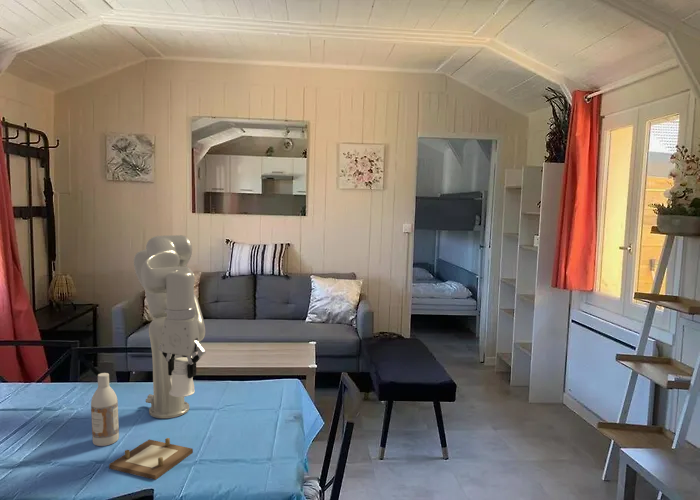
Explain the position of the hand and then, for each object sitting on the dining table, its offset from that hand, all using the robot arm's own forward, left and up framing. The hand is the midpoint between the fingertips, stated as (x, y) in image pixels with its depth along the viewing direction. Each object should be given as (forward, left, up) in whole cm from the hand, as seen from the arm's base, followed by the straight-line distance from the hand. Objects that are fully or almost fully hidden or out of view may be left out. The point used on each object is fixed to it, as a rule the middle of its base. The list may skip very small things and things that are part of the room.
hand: (182, 374), depth 153 cm
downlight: (0, 0, -6) cm, 6 cm away
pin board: (0, -13, -20) cm, 24 cm away
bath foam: (-20, -9, -20) cm, 30 cm away
